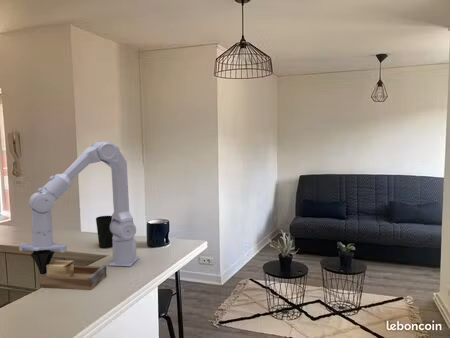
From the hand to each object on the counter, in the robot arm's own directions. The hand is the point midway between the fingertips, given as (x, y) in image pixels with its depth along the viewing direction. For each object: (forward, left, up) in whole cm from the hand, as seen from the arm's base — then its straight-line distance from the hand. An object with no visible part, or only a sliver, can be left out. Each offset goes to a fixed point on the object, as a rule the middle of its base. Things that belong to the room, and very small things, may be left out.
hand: (44, 273), depth 117 cm
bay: (0, +10, -2) cm, 10 cm away
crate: (0, +5, -1) cm, 6 cm away
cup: (-36, +5, -2) cm, 36 cm away
